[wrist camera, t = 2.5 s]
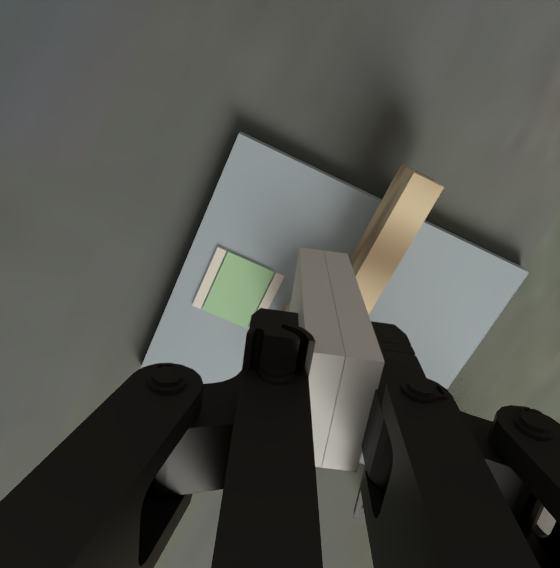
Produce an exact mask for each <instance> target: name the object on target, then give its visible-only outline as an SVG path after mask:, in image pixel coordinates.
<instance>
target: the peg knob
mask: <svg viewBox="0 0 560 568" xmlns="http://www.w3.org/2000/svg"><path fill="white" fill-rule="evenodd" d="M443 189H444V187H443V186H442V185H440V184H439V183H437V182H436V181H434V180H433V179H431V178H430V177H428V176H426V175H424V174H422V173H420V172H418V171H416V170H414V169H412V168H410V167H408V166H406V165H404V164H401V166H400V168H399V170H398V171H397V173H396V175H395V177H394V179H393V181H392V182H391V184H390V186H389V188H388V190H387V191H386V193H385V195H384V197H383V199H382V201H381V202H380V204H379V206H378V208H377V210H376V211H375V213H374V215H373V217H372V219H371V221H370V222H369V224H368V226H367V228H366V230H365V231H364V233H363V235H362V237H361V239H360V241H359V242H358V244H357V246H356V248H355V250H354V251H353V253H352V255H351V257H350V262H351V265H352V268H353V271H354V274H355V277H356V280H357V283H358V286H359V289H360V291H361V294H362V297H363V300H364V303H365V306H366V309H367V312H368V315H369V314H370V312H371V310H372V309H373V307H374V305H375V304H376V302H377V300H378V298H379V297H380V295H381V293H382V292H383V290H384V288H385V287H386V285H387V283H388V282H389V280H390V278H391V276H392V275H393V273H394V271H395V270H396V268H397V266H398V265H399V263H400V261H401V260H402V258H403V256H404V254H405V253H406V251H407V249H408V248H409V246H410V244H411V243H412V241H413V239H414V238H415V236H416V234H417V233H418V231H419V229H420V227H421V226H422V224H423V222H424V221H425V219H426V217H427V216H428V214H429V212H430V211H431V209H432V207H433V205H434V204H435V202H436V200H437V199H438V197H439V195H440V194H441V192H442V190H443ZM290 303H291V301H290V302H289V303H288V304H287V305H286V307H285V308H284V310H283V311H288V312H289V309H290Z"/></svg>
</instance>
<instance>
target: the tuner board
mask: <svg viewBox="0 0 560 568" xmlns="http://www.w3.org/2000/svg"><path fill="white" fill-rule="evenodd" d="M381 201H382V199H380V198H378V197H376V196H374V195H372V194H370V193H368V192H366V191H364V190H362V189H360V188H358V187H356V186H353V185H351V184H349V183H347V182H345V181H343V180H341V179H339V178H337V177H335V176H333V175H331V174H328V173H326V172H324V171H322V170H320V169H318V168H316V167H314V166H312V165H310V164H308V163H306V162H304V161H301V160H299V159H297V158H295V157H293V156H291V155H289V154H287V153H285V152H283V151H281V150H279V149H276V148H274V147H272V146H270V145H268V144H266V143H264V142H262V141H260V140H258V139H256V138H254V137H252V136H249V135H247V134H245V133H243V132H241V131H240V133H239V134H238V136H237V139H236V141H235V144H234V146H233V148H232V151H231V153H230V156H229V158H228V160H227V163H226V165H225V167H224V170H223V172H222V175H221V177H220V179H219V182H218V184H217V187H216V189H215V191H214V194H213V196H212V199H211V201H210V203H209V206H208V208H207V210H206V213H205V215H204V218H203V220H202V222H201V225H200V227H199V230H198V232H197V234H196V237H195V239H194V242H193V244H192V246H191V249H190V251H189V254H188V256H187V258H186V261H185V263H184V265H183V268H182V270H181V273H180V275H179V277H178V280H177V282H176V285H175V287H174V289H173V292H172V294H171V297H170V299H169V301H168V304H167V306H166V308H165V311H164V313H163V316H162V318H161V320H160V323H159V325H158V328H157V330H156V332H155V335H154V337H153V340H152V342H151V344H150V347H149V349H148V351H147V354H146V356H145V359H144V361H143V363H142V366H141V368H142V367H145V366H149V365H152V364H157V363H174V364H180V365H184V366H186V367H189V368H191V369H193V370H195V371H196V372H197V373H198V374H199V375H200V376H201V378H202V381H203V384H207V383H216V382H222V381H225V380H229V379H231V378H233V377H234V376H236V375H237V374H238V373H239V372H240V371H241V370H242V365H243V357H244V350H245V342H246V334H247V331H248V330H249V327H250V321H251V315H252V314H254V313H255V312H256V311H257V310H259V309H260V308H265V309H273V310H280V311H283V310H284V308H285V307H286V305H287V304H288V303H289V302H290V301H291V296H292V290H293V284H294V278H295V272H296V266H297V260H298V253H299V247H303V248H310V249H317V250H323V251H331V252H339V253H346V254H348V256H349V259H350V257H351V255H352V253H353V251H354V250H355V248H356V246H357V244H358V242H359V241H360V239H361V237H362V235H363V233H364V231H365V230H366V228H367V226H368V224H369V222H370V221H371V219H372V217H373V215H374V213H375V211H376V210H377V208H378V206H379V204H380V202H381ZM528 273H529V272H528V271H527V270H525V269H524V268H523V267H522V266H520V265H518V264H516V263H514V262H512V261H509V260H507V259H505V258H503V257H501V256H499V255H497V254H495V253H493V252H491V251H489V250H487V249H484V248H482V247H480V246H478V245H476V244H474V243H472V242H470V241H468V240H466V239H464V238H462V237H460V236H457V235H455V234H453V233H451V232H449V231H447V230H445V229H443V228H441V227H439V226H437V225H435V224H432V223H430V222H428V221H426V220H425V221H424V222H423V224H422V226H421V227H420V229H419V231H418V233H417V234H416V236H415V238H414V239H413V241H412V243H411V244H410V246H409V248H408V249H407V251H406V253H405V254H404V256H403V258H402V260H401V261H400V263H399V265H398V266H397V268H396V270H395V271H394V273H393V275H392V276H391V278H390V280H389V282H388V283H387V285H386V287H385V288H384V290H383V292H382V293H381V295H380V297H379V298H378V300H377V302H376V304H375V305H374V307H373V309H372V310H371V312H370V314H369V318H370V321H373V322H380V323H388V324H395V325H396V326H397V327H398V328H399V329H400V330H402V331H403V332H404V333H405V334H406V335H407V337H408V339H409V341H410V343H411V347H412V348H413V350H414V352H415V356H417V358H418V361H419V363H420V365H421V367H422V369H423V371H424V373H425V376H426V378H428V379H430V380H433V381H435V382H437V383H439V384H440V385H441V386H443V387H444V388H446V389H448V387H449V386H450V385H451V383H452V382H453V380H454V379H455V377H456V376H457V375H458V373H459V372H460V370H461V369H462V367H463V366H464V365H465V363H466V362H467V360H468V359H469V357H470V356H471V355H472V353H473V352H474V350H475V349H476V347H477V346H478V345H479V343H480V342H481V340H482V339H483V337H484V336H485V335H486V333H487V332H488V330H489V329H490V328H491V326H492V325H493V323H494V322H495V320H496V319H497V318H498V316H499V315H500V313H501V312H502V310H503V309H504V308H505V306H506V305H507V303H508V302H509V300H510V299H511V298H512V296H513V295H514V293H515V292H516V290H517V289H518V288H519V286H520V285H521V283H522V282H523V280H524V279H525V278H526V276H527V275H528ZM141 368H140V369H141ZM359 463H361V464H364V465H365V463H364V458H363V453H362V454H361V458H360V462H359Z"/></svg>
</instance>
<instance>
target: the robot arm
mask: <svg viewBox="0 0 560 568" xmlns="http://www.w3.org/2000/svg"><path fill="white" fill-rule="evenodd" d="M362 453H363V458H364V463H365V470H364V473H363V477H362V481H361V485H360V489H359V493H358V497H357V500H356V504H355V508H354V516H353V518H355V519H359V515H360V512H361V509H362V508H363V507H364V513H365V519H366V525H367V531H368V536H369V542H370V548H371V554H372V560H373V566H374V568H560V424H559V423H558V422H556V421H555V420H553V419H552V418H551V417H548V416H546V415H544V414H542V413H541V412H540V411H538V410H535V409H530V408H528V407H523V406H512V405H510V406H505V407H501V408H500V409H499V410H498V411H497V412H496V415H495V418H494V420H493V422H492V421H488V420H485V419H482V418H479V417H476V416H473V415H470V414H467V413H464V412H462V411H460V410H459V408H458V406H457V404H456V402H455V400H454V398H453V396H452V395H451V394H450V393H449V392H448V390H447V389H446V388H444V387H443V386H441V385H440V384H439V383H437V382H435V381H433V380H430V379H428V378H426V376H425V373H424V371H423V369H422V367H421V365H420V363H419V361H418V358H417V356H415V352H414V350H413V348H412V347H411V343H410V341H409V339H408V337H407V335H406V334H405V333H404V332H403V331H402V330H400V329H399V328H398V327H397V326H396V325H395V324H388V323H380V322H373V321H370V318H369V315H368V312H367V309H366V306H365V303H364V300H363V297H362V294H361V291H360V289H359V286H358V283H357V280H356V277H355V274H354V271H353V268H352V265H351V262H350V259H349V256H348V254H346V253H339V252H331V251H323V250H317V249H310V248H303V247H299V253H298V260H297V266H296V272H295V278H294V284H293V290H292V296H291V303H290V309H289V312H288V311H280V310H273V309H265V308H260V309H259V310H257V311H256V312H255V313H254V314H252V315H251V321H250V327H249V330H248V331H247V334H246V342H245V350H244V357H243V365H242V370H241V371H240V372H239V373H238V374H237V375H236V376H234V377H233V378H231V379H229V380H225V381H222V382H216V383H207V384H203V381H202V378H201V376H200V375H199V374H198V373H197V372H196V371H195V370H193V369H191V368H189V367H186V366H184V365H180V364H174V363H157V364H152V365H149V366H145V367H142V368H141V369H139V370H138V371H136V372H135V373H133V374H132V375H131V376H130V377H129V378H128V379H127V380H126V381H125V382H124V383H123V384H122V385H121V386H120V387H119V388H118V389H117V390H116V391H115V392H114V393H113V394H111V395H110V396H109V397H108V398H107V399H106V400H105V401H104V402H103V403H102V404H101V405H100V406H99V407H98V408H97V409H96V410H95V411H94V412H93V413H92V414H91V415H90V416H89V417H88V418H87V419H86V420H85V421H83V422H82V423H81V424H80V425H79V426H78V427H77V428H76V429H75V430H74V431H73V432H72V433H71V434H70V435H69V436H68V437H67V438H66V439H65V440H64V441H63V442H62V443H61V444H60V445H59V446H58V447H56V448H55V449H54V450H53V451H52V452H51V453H50V454H49V455H48V456H47V457H46V458H45V459H44V460H43V461H42V462H41V463H40V464H39V465H38V466H37V467H36V468H35V469H34V470H33V471H32V472H31V473H29V474H28V475H27V476H26V477H25V478H24V479H23V480H22V481H21V482H20V483H19V484H18V485H17V486H16V487H15V488H14V489H13V490H12V491H11V492H10V493H9V494H8V495H7V496H6V497H5V498H4V499H3V500H1V501H0V568H154V566H155V564H156V562H157V561H158V559H159V557H160V555H161V553H162V552H163V550H164V548H165V546H166V545H167V543H168V541H169V539H170V537H171V536H172V534H173V532H174V530H175V529H176V527H177V525H178V523H179V521H180V520H181V518H182V516H183V514H184V513H185V511H186V509H187V507H188V505H189V504H190V501H191V497H192V494H193V493H198V492H205V491H212V490H219V489H223V495H222V502H221V508H220V515H219V521H218V528H217V534H216V541H215V547H214V554H213V560H212V567H211V568H323V563H322V550H321V536H320V523H319V510H318V496H317V483H316V470H315V467H321V466H322V468H329V469H338V470H346V471H354V472H357V470H358V466H359V462H360V458H361V454H362ZM544 507H545V508H546V509H547V510H548V512H549V513H550V514H551V515H552V516H553V517H554V518H555V520H556V523H555V525H554V527H553V530H552V532H551V533H550V535H546V534H545V533H544V532H543V531H542V530H541V529H540V527H539V526H538V525H537V521H538V519H539V517H540V515H541V512H542V510H543V508H544Z"/></svg>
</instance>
